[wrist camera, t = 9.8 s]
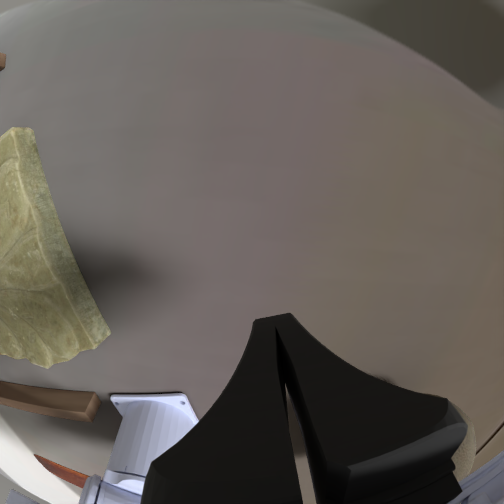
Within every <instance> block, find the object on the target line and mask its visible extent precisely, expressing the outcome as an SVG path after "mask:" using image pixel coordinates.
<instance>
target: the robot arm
mask: <svg viewBox="0 0 504 504" xmlns="http://www.w3.org/2000/svg"><path fill="white" fill-rule="evenodd" d="M285 384H286V387H287V390H288V393H289V396H290V399H291V402H292V405H293V408H294V411H295V414H296V417H297V420H298V423H299V426H300V429H301V433H302V436H303V440H304V445H305V449H306V454H307V459H308V464H309V468H310V473H311V478H312V483H313V488H314V493H315V498H316V503H317V504H460V503H461V502H462V503H461V504H504V450H503V451H502V452H501V453H499V454H498V455H497V456H496V457H494V458H493V459H492V460H490V461H489V462H488V463H486V464H485V465H483V466H482V467H481V468H479V469H478V470H476V471H475V472H473V473H472V474H470V475H469V476H467V477H466V478H464V479H462V480H461V481H459V482H458V481H457V479H456V477H455V475H454V474H453V471H454V470H455V469H456V466H455V464H454V462H453V460H452V459H451V458H452V456H453V455H454V453H455V452H456V451H457V449H458V448H459V446H460V445H461V443H462V442H463V440H464V438H465V436H466V434H467V431H468V425H467V424H466V422H465V421H464V419H463V418H462V416H461V415H460V413H459V412H458V411H457V409H456V408H455V407H454V406H453V405H452V404H451V403H450V402H449V400H448V399H447V398H441V397H436V396H432V395H427V394H422V393H417V392H414V391H410V390H407V389H404V388H401V387H398V386H395V385H392V384H389V383H387V382H384V381H382V380H380V379H378V378H375V377H373V376H371V375H368V374H366V373H365V372H363V371H361V370H359V369H357V368H355V367H354V366H352V365H350V364H349V363H347V362H346V361H344V360H343V359H341V358H340V357H338V356H337V355H335V354H334V353H333V352H331V351H330V350H329V349H327V348H326V347H325V346H324V345H323V344H321V343H320V342H319V341H318V340H317V339H316V338H315V337H313V336H312V335H311V334H310V333H309V332H308V331H307V330H306V329H305V328H304V327H303V326H302V325H301V324H300V323H299V322H298V320H297V319H296V318H295V317H294V316H293V315H292V314H291V313H286V314H281V315H276V316H271V317H266V318H260V319H256V320H255V321H254V322H253V326H252V331H251V334H250V338H249V341H248V343H247V346H246V348H245V351H244V353H243V356H242V358H241V360H240V362H239V364H238V366H237V368H236V370H235V372H234V374H233V376H232V378H231V379H230V381H229V383H228V384H227V386H226V387H225V389H224V390H223V392H222V393H221V395H220V396H219V398H218V399H217V400H216V402H215V403H214V404H213V406H212V407H211V408H210V409H209V411H208V412H207V413H206V414H205V415H204V416H203V418H202V419H201V420H200V421H198V419H197V417H196V415H195V413H194V411H193V409H192V407H191V405H190V403H189V401H188V399H187V397H186V395H184V394H182V393H174V394H149V395H111V397H110V399H111V401H112V402H113V404H114V405H115V407H116V408H117V410H118V411H119V413H120V414H121V415H122V417H123V419H122V422H121V425H120V428H119V431H118V434H117V437H116V440H115V443H114V446H113V449H112V452H111V456H110V459H109V462H108V465H107V469H106V470H105V473H104V476H103V478H102V480H100V479H101V477H100V476H98V475H96V474H95V475H93V476H90V477H87V479H86V482H85V485H84V487H83V491H82V494H81V497H80V500H79V504H303V501H302V495H301V490H300V485H299V479H298V474H297V469H296V464H295V459H294V454H293V449H292V444H291V438H290V433H289V425H288V413H287V401H286V390H285ZM182 401H184V402H182ZM5 504H39V503H37V502H36V501H34V500H32V499H30V498H29V497H26V496H25V495H23V494H21V493H19V492H17V491H15V490H13V489H11V490H10V493H9V495H8V497H7V500H6V503H5Z"/></svg>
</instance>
